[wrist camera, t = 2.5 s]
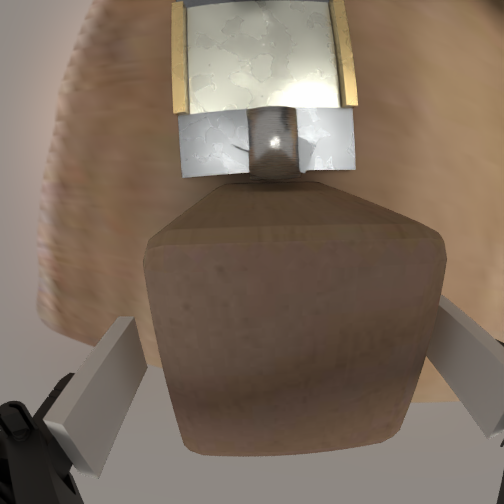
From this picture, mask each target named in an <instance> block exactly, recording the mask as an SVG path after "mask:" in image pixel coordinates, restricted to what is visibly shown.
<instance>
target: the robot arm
mask: <svg viewBox="0 0 504 504" xmlns="http://www.w3.org/2000/svg"><path fill="white" fill-rule="evenodd" d="M426 356H427V357H428V359H429V360H430V361H431V362H432V364H433V365H434V366H435V368H436V369H437V370H438V371H439V373H440V374H441V375H442V377H443V378H444V379H445V381H446V382H447V383H448V385H449V386H450V387H451V389H452V390H453V391H454V393H455V394H456V395H457V397H458V398H459V399H460V401H461V402H462V403H463V405H464V406H465V408H466V409H467V410H468V412H469V413H470V415H471V416H472V417H473V419H474V420H475V422H476V423H477V425H478V426H479V427H480V429H481V430H482V431H483V433H484V435H485V436H486V438H487V439H490V438H492V437H494V436H496V435H498V434H500V433H502V431H503V430H504V343H503V342H501V341H499V340H497V339H494V338H493V337H492V336H491V335H490V334H489V333H487V332H486V331H485V330H484V329H483V328H482V327H481V326H479V325H478V324H477V323H476V322H475V321H474V320H472V319H471V318H470V317H469V316H468V315H466V314H465V313H464V312H463V311H462V310H460V309H459V308H458V307H457V306H456V305H454V304H453V303H452V302H451V301H449V300H448V299H447V298H446V297H444V296H443V295H441V296H440V301H439V306H438V310H437V315H436V319H435V323H434V327H433V331H432V335H431V339H430V343H429V346H428V350H427V354H426ZM146 370H147V364H146V361H145V357H144V353H143V350H142V346H141V342H140V338H139V334H138V330H137V326H136V322H135V318H134V317H122V316H119V317H118V318H117V319H116V321H115V322H114V323H113V324H112V326H111V327H110V328H109V329H108V331H107V332H106V333H105V335H104V336H103V337H102V338H101V340H100V341H99V342H98V344H97V345H96V346H95V348H94V349H93V351H92V352H91V353H90V354H89V356H88V357H87V358H86V360H85V361H84V362H83V364H82V365H81V366H80V368H79V369H78V370H77V372H76V373H69V374H68V375H66V376H65V377H63V378H62V379H61V380H60V381H59V382H58V383H57V385H56V386H55V387H54V390H52V391H51V393H50V394H49V397H47V398H46V400H45V401H44V402H43V404H42V405H41V406H40V408H39V409H38V411H37V412H36V413H35V415H34V416H33V418H32V417H31V415H30V413H29V411H28V410H27V408H26V406H25V405H24V404H23V403H21V402H19V401H9V402H7V403H4V404H2V405H1V406H0V430H1V431H0V504H84V502H83V500H82V498H81V496H80V493H79V491H78V488H77V486H76V483H75V481H74V478H73V476H72V475H71V473H70V472H69V471H70V469H71V466H72V464H73V465H74V467H75V468H76V469H77V471H78V472H79V473H80V474H82V475H86V476H90V477H94V478H97V479H99V477H100V475H101V472H102V470H103V467H104V465H105V463H106V460H107V457H108V455H109V453H110V451H111V448H112V446H113V444H114V441H115V439H116V437H117V434H118V432H119V430H120V427H121V425H122V423H123V421H124V418H125V416H126V414H127V411H128V409H129V407H130V405H131V403H132V400H133V398H134V396H135V394H136V391H137V389H138V387H139V385H140V383H141V381H142V378H143V376H144V374H145V372H146ZM503 445H504V440H503V441H502V443H501V447H503ZM497 504H504V471H503V477H502V483H501V487H500V491H499V496H498V500H497Z"/></svg>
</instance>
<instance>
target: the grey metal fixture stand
mask: <svg viewBox="0 0 504 504" xmlns="http://www.w3.org/2000/svg"><path fill="white" fill-rule="evenodd" d="M171 49H172V93H173V113H174V114H176V115H177V116H178V124H179V141H180V155H181V169H182V178H186V177H197V176H208V175H220V174H234V173H249V172H250V179H251V180H271V179H290V178H299V177H300V172H301V173H305V172H306V170H356V168H355V142H354V125H353V111H352V108H354V107H356V106H358V99H357V88H356V79H355V70H354V62H353V54H352V47H351V40H350V34H349V27H348V22H347V16H346V10H345V5H344V0H176V2H174V3H172V25H171Z"/></svg>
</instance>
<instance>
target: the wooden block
mask: <svg viewBox="0 0 504 504" xmlns="http://www.w3.org/2000/svg"><path fill="white" fill-rule="evenodd" d="M446 262H447V257H446V250H445V244H444V240H443V239H442V237H441V236H440V234H439V233H438V232H436V231H435V230H433V229H431V228H429V227H427V226H425V225H424V224H421V223H419V222H417V221H415V220H412V219H410V218H408V217H406V216H403V215H401V214H398V213H396V212H394V211H391V210H389V209H387V208H384V207H382V206H379V205H377V204H374V203H372V202H369V201H367V200H364V199H362V198H359V197H356V196H354V195H351V194H349V193H346V192H343V191H341V190H338V189H335V188H332V187H330V186H327V185H324V184H321V183H319V182H277V183H242V184H225V185H223V186H221V187H218V188H217V189H215V190H214V191H213V192H211V193H210V194H208V195H207V196H206V197H204V198H203V199H202V200H200V201H199V202H198V203H196V204H195V205H194V206H192V207H191V208H190V209H188V210H187V211H186V212H184V213H183V214H182V215H180V216H179V217H178V218H176V219H175V220H174V221H172V222H171V223H170V224H169V225H167V226H166V227H165V228H163V229H162V230H161V231H160V232H158V233H157V234H156V235H154V236H153V237H152V238H151V239H149V241H148V244H147V248H146V252H145V256H144V260H143V266H144V273H145V279H146V286H147V292H148V298H149V303H150V309H151V314H152V320H153V325H154V330H155V335H156V339H157V344H158V349H159V353H160V358H161V362H162V366H163V371H164V374H165V379H166V383H167V387H168V390H169V395H170V398H171V402H172V405H173V409H174V413H175V416H176V420H177V423H178V427H179V430H180V433H181V437H182V440H183V443H184V445H185V446H186V447H187V448H188V449H189V450H190V451H193V452H196V453H198V454H201V455H209V456H280V455H296V454H308V453H318V452H326V451H334V450H342V449H348V448H354V447H360V446H366V445H371V444H376V443H381V442H383V441H385V440H387V439H389V438H391V437H393V436H394V435H395V434H396V433H397V432H398V431H399V430H400V428H401V425H402V423H403V420H404V418H405V415H406V413H407V410H408V408H409V405H410V402H411V400H412V397H413V394H414V391H415V388H416V385H417V382H418V379H419V376H420V373H421V370H422V367H423V364H424V360H425V357H426V354H427V350H428V346H429V343H430V339H431V335H432V331H433V327H434V323H435V319H436V315H437V310H438V306H439V301H440V296H441V291H442V286H443V280H444V274H445V268H446Z"/></svg>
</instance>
